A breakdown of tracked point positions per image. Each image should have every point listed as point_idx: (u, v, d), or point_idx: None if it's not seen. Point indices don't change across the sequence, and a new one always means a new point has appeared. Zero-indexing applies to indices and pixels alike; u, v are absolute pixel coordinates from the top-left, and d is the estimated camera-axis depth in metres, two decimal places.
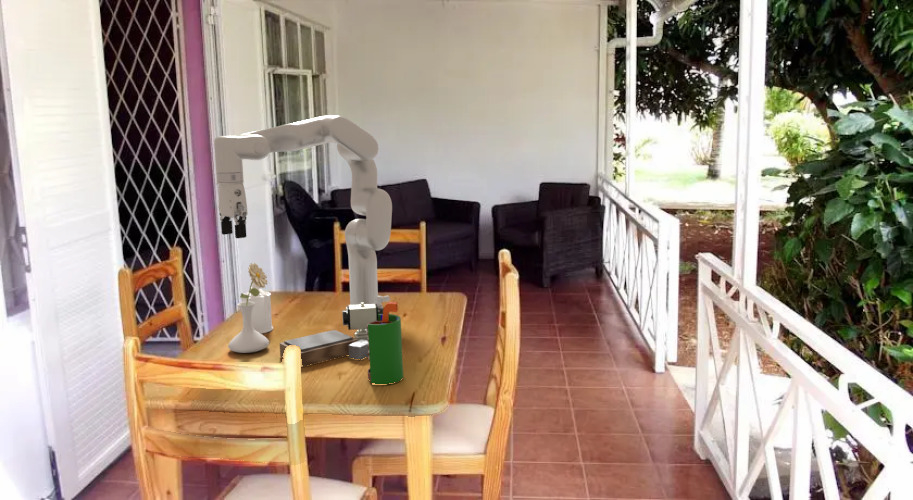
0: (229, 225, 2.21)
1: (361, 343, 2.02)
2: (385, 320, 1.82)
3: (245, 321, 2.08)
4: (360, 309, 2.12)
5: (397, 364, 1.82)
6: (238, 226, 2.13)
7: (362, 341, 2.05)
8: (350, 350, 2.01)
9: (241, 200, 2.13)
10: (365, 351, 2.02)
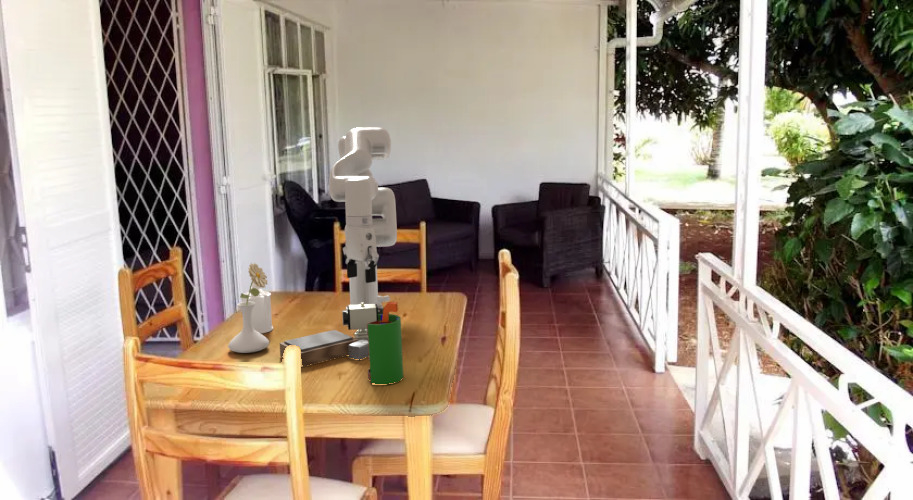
0: (354, 268, 2.17)
1: (361, 344, 2.02)
2: (385, 320, 1.82)
3: (245, 321, 2.08)
4: (360, 309, 2.12)
5: (397, 364, 1.82)
6: (369, 270, 2.08)
7: (362, 341, 2.05)
8: (350, 350, 2.02)
9: (372, 244, 2.08)
10: (365, 351, 2.02)
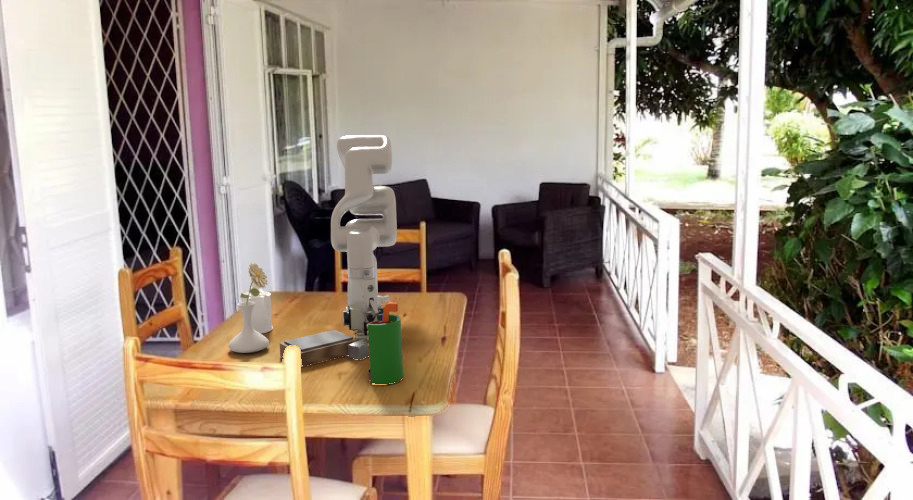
0: None
1: (361, 344, 2.02)
2: (385, 320, 1.82)
3: (245, 321, 2.08)
4: None
5: (397, 364, 1.82)
6: None
7: (362, 341, 2.05)
8: (350, 350, 2.02)
9: (373, 295, 2.11)
10: (365, 351, 2.02)
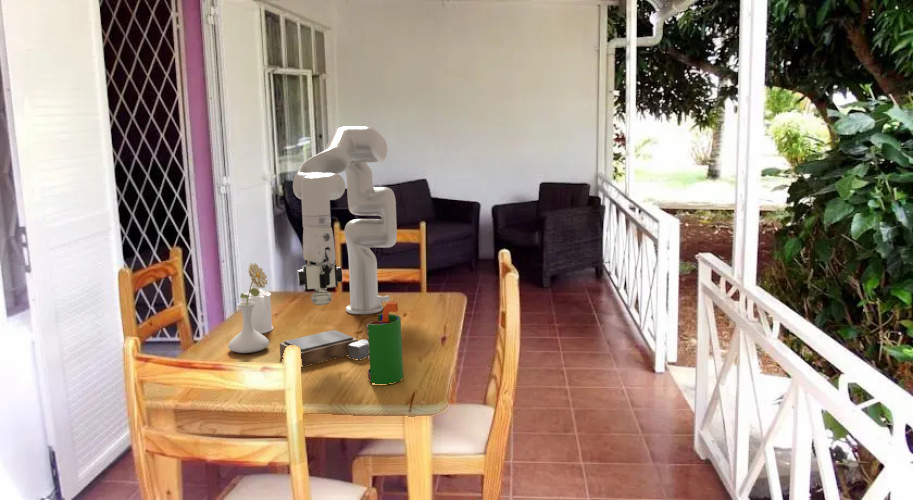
0: None
1: (361, 344, 2.02)
2: (385, 320, 1.82)
3: (245, 321, 2.08)
4: (317, 266, 1.99)
5: (397, 364, 1.82)
6: (323, 276, 1.99)
7: (363, 341, 2.05)
8: (350, 350, 2.02)
9: (330, 245, 1.97)
10: (365, 351, 2.02)
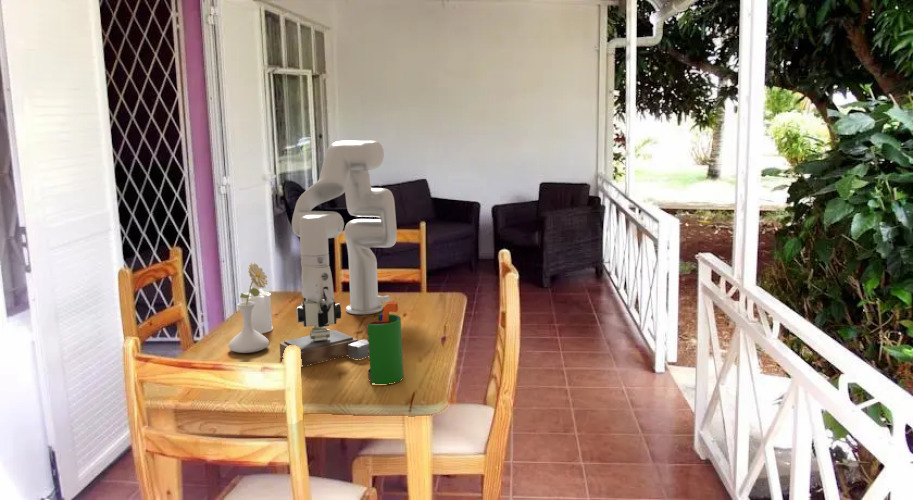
0: None
1: (361, 344, 2.02)
2: (385, 320, 1.82)
3: (245, 321, 2.08)
4: (316, 304, 2.00)
5: (397, 364, 1.82)
6: (322, 314, 2.00)
7: (363, 341, 2.05)
8: (349, 350, 2.02)
9: (328, 284, 1.98)
10: (365, 351, 2.02)
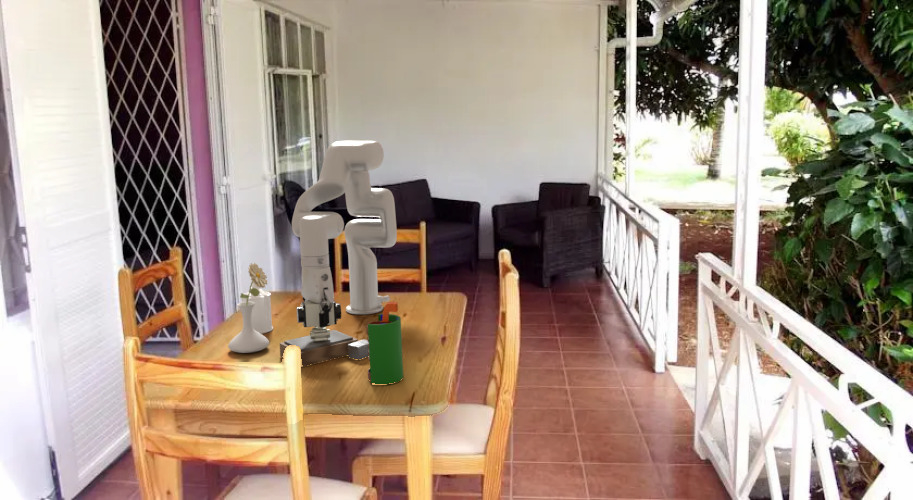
0: None
1: (361, 344, 2.02)
2: (385, 320, 1.82)
3: (245, 321, 2.08)
4: (316, 305, 1.99)
5: (397, 364, 1.82)
6: (323, 315, 1.99)
7: (363, 341, 2.05)
8: (349, 350, 2.02)
9: (328, 285, 1.98)
10: (365, 351, 2.02)
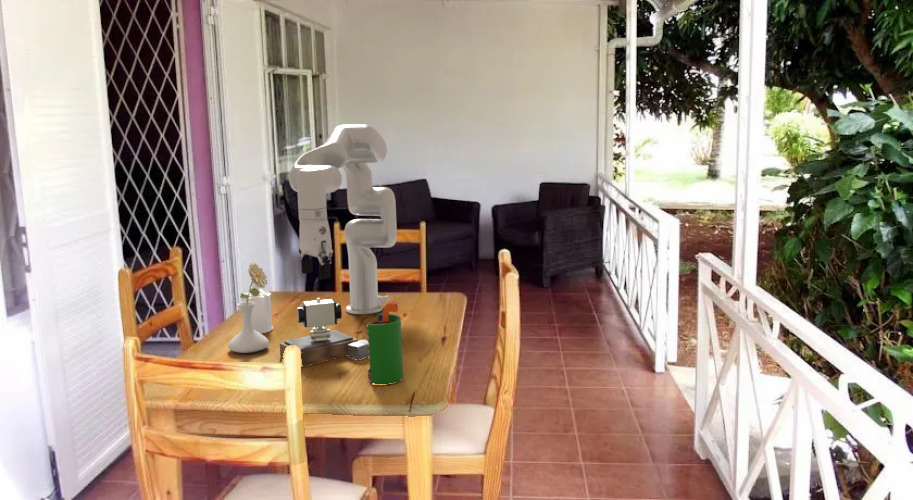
0: (309, 263, 2.05)
1: (361, 344, 2.02)
2: (385, 320, 1.82)
3: (245, 321, 2.08)
4: (317, 305, 1.99)
5: (397, 364, 1.82)
6: (323, 266, 1.96)
7: (363, 341, 2.04)
8: (349, 350, 2.02)
9: (326, 238, 1.96)
10: (364, 351, 2.02)
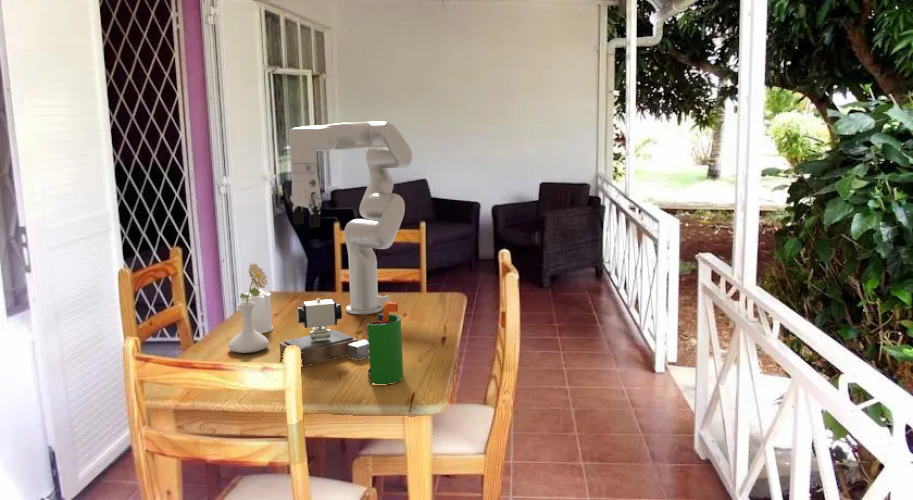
0: (301, 215, 2.26)
1: (361, 344, 2.02)
2: (385, 320, 1.82)
3: (245, 321, 2.08)
4: (317, 305, 1.99)
5: (397, 364, 1.82)
6: (312, 216, 2.17)
7: (363, 341, 2.04)
8: (349, 349, 2.02)
9: (315, 190, 2.17)
10: (364, 351, 2.02)
